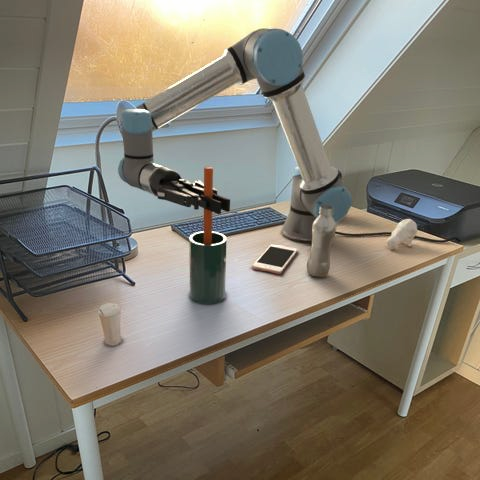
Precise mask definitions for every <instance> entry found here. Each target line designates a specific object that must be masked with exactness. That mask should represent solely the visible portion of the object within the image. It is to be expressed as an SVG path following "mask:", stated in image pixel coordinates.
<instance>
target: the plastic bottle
mask: <svg viewBox="0 0 480 480" xmlns="http://www.w3.org/2000/svg"><path fill="white" fill-rule="evenodd" d="M333 211H334V207H332V206H330V205H321V206H320V211H319V214H320V215H319V216H318V217H317V218H316V219H315V221H314V222H313V225H312V242H311V248H310V253H309V257H308V260H307V262H306V271H307V273H308V274H309V275H310V276H313V277H317V278H319V277H320V278H321V277H326V276H327V275H328V274H329V271H330V269H331V249H332V244H333V241H334V237H335V235H336V234H335V231H336V232H337V222H335V221H334V219H333V217H332V215H333V214H334V213H333Z"/></svg>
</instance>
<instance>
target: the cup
mask: <svg viewBox="0 0 480 480" xmlns="http://www.w3.org/2000/svg"><path fill="white" fill-rule="evenodd" d="M188 245H189V246H188V247H189V251H188V252H189V297H190V299H191V300H192V301H193V302H195V303H197V304H201V305H214V304H215V305H216V304H218V303H221V302H222V301H223V300H224V299H225V298H226V275H227V274H226V269H227V268H226V267H227V236H226V235H224V234H223V233H220V232H218V231H212V244H210V245H207V244H204V230H203V231H198V232H195V233H192V234H190V236H189V237H188Z"/></svg>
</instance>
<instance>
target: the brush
mask: <svg viewBox="0 0 480 480" xmlns="http://www.w3.org/2000/svg"><path fill="white" fill-rule="evenodd" d="M203 183H204V195H205V196H207V197H210V198H213V188H214V167H213V166H204V167H203ZM203 231H204V244H207V245H210V244H212V232H213V212H212V211H209V210H207V209H204V208H203Z"/></svg>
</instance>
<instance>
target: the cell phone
mask: <svg viewBox="0 0 480 480" xmlns="http://www.w3.org/2000/svg"><path fill="white" fill-rule="evenodd" d="M297 253H298V248H295V247H290V246H284V245H279V244H274V243H271V244H270V245H269V246H268V247H267V248H266V249H265V250H264V251H263V252H262V254H261V255H260V256H259V257H258V258H257V259H256V260H255V261H254V263H253V264H252V265H251V268H252V269H253V270H258V271H263V272H268V273H272V274H276V275H277V274H278V275H281V274H282V273H283V272H284V270H285V269H286V267H287V266H288V264H290V262H291V261H292V260H293V258H294V257H295V255H296V254H297Z"/></svg>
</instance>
